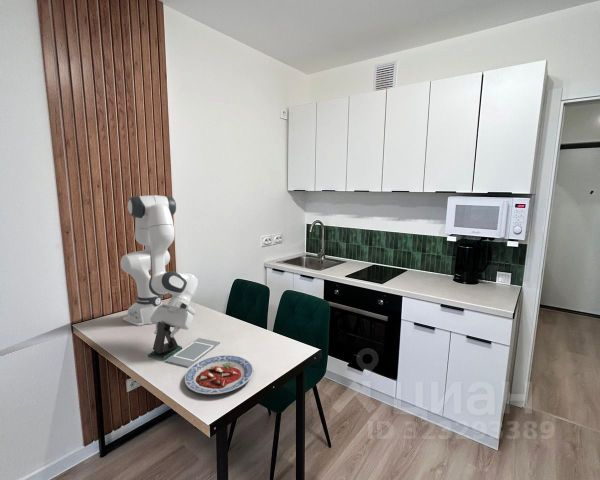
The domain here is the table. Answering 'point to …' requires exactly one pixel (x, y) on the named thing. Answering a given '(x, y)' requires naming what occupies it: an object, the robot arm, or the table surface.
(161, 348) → the phone stand
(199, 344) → the marked board
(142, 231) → the robot arm
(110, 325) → the table surface
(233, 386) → the ceramic plate
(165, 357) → the ink pad
